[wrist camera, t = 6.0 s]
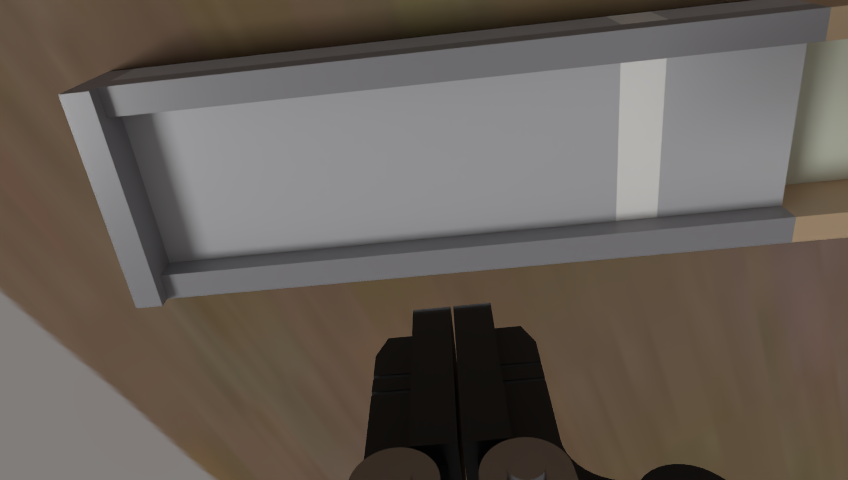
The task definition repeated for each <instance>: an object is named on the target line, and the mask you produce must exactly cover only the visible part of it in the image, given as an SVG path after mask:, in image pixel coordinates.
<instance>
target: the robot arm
mask: <svg viewBox="0 0 848 480" xmlns="http://www.w3.org/2000/svg"><path fill="white" fill-rule="evenodd" d="M454 323H455V338H456V350H455V341H454V332H453V324H452V315H451V308H450V307H443V308H432V309H421V310H414V311H413V330H412V336H410V337H399V338H389V339H388V340H387V341H386V343H385V344H384V346H383V347H382V349H381V350H380V351H379V353H378V354H377V356H376V360H375V369H374V380H373V386H372V396H371V404H370V413H369V421H368V430H367V439H366V447H365V456H364V460H363V461H362V462H361V463H360V464H359V465H358V466H357V467H356V468H355V469H354V471H353V472H352V474H351V476H350V478H349V480H466V477H467V480H613V479H609V478H605V477H601V476H598V475H596V474H593V473H591V472H589V471H587V470H585V469H584V468H582V467H581V466H579V465H578V464H577V463H576V462H574V461H573V460H572V459H571V458H570V456H569V455H568V454H567V453H566V451H565V449H564V448H563V446H562V443H561V440H560V436H559V432H558V428H557V424H556V420H555V416H554V412H553V408H552V404H551V400H550V396H549V392H548V388H547V384H546V381H545V376H544V372H543V369H542V365H541V361H540V357H539V353H538V349H537V345H536V341H535V340H534V339H533V338H532V337H531V336H530V335H529V334H528V333H527V332H526V331H525V330H524V329H523V328H522V327H521V326H517V327H506V328H494V322H493V316H492V310H491V304H490V303H483V304H473V305H462V306H454ZM456 353H457V359H456ZM465 468H466V471H465ZM641 480H725V479H723V478H722V477H720V476H718V475H716V474H714V473H713V472H711V471H708V470H705V469H703V468H700V467H696V466H692V465H685V464H672V465H665V466H661V467H658V468H656V469H654V470H651V471H650V472H649V473H647V474H646V475H645V476H644V477H643V478H642V479H641Z"/></svg>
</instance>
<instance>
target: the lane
mask: <svg viewBox="0 0 848 480" xmlns="http://www.w3.org/2000/svg"><path fill="white" fill-rule="evenodd" d="M59 98H60V101H61V103H62V106H63V109H64V112H65V114H66V117H67V120H68V123H69V125H70V128H71V131H72V134H73V136H74V139H75V142H76V144H77V147H78V150H79V153H80V155H81V158H82V161H83V164H84V166H85V169H86V172H87V175H88V177H89V180H90V183H91V186H92V188H93V191H94V194H95V197H96V199H97V202H98V205H99V207H100V210H101V213H102V216H103V218H104V221H105V224H106V227H107V229H108V232H109V235H110V238H111V240H112V243H113V246H114V249H115V251H116V254H117V257H118V260H119V262H120V265H121V268H122V271H123V273H124V276H125V279H126V281H127V284H128V287H129V290H130V292H131V295H132V298H133V301H134V303H135V306H136V308H144V307H155V306H163V304H164V303H165V301H166V300H167V299H169V298H181V297H192V296H203V295H214V294H225V293H236V292H247V291H258V290H269V289H280V288H291V287H302V286H314V285H325V284H336V283H347V282H358V281H369V280H380V279H391V278H402V277H413V276H424V275H435V274H447V273H458V272H469V271H480V270H491V269H502V268H513V267H524V266H535V265H546V264H557V263H568V262H580V261H591V260H602V259H613V258H624V257H635V256H646V255H657V254H668V253H679V252H690V251H701V250H712V249H724V248H735V247H746V246H757V245H768V244H779V243H790V242H801V241H812V240H823V239H834V238H845V237H848V0H750V1H741V2H732V3H723V4H714V5H705V6H696V7H687V8H678V9H669V10H660V11H651V12H642V13H633V14H624V15H615V16H606V17H597V18H588V19H579V20H570V21H561V22H551V23H542V24H533V25H524V26H515V27H506V28H497V29H488V30H479V31H470V32H461V33H452V34H443V35H434V36H425V37H416V38H407V39H398V40H389V41H380V42H371V43H362V44H353V45H344V46H335V47H326V48H317V49H308V50H299V51H290V52H281V53H272V54H263V55H254V56H244V57H235V58H226V59H217V60H208V61H199V62H190V63H181V64H172V65H163V66H154V67H145V68H136V69H127V70H118V71H109V72H106V73H104V74H102V75H100V76H98V77H96V78H93V79H91V80H89V81H87V82H85V83H82V84H80V85H78V86H76V87H74V88H72V89H69V90H67V91H65V92H63V93H61V94H59Z"/></svg>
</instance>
